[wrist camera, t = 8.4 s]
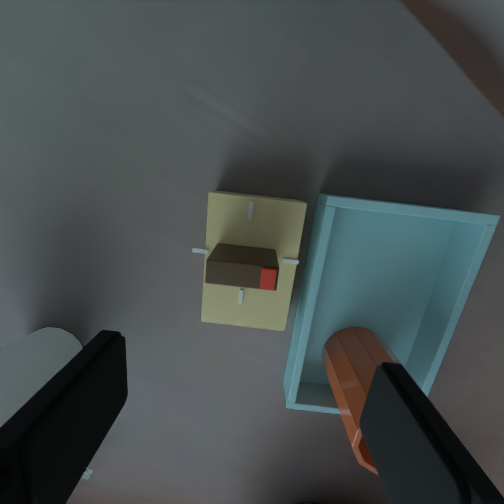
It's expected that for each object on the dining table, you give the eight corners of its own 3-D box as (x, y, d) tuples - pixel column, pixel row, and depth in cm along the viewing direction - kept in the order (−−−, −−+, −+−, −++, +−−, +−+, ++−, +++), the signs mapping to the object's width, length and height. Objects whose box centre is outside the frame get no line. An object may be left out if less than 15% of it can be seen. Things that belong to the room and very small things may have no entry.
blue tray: (318, 193, 22) (328, 195, 19) (466, 210, 22) (501, 215, 19) (283, 382, 28) (286, 408, 25) (399, 395, 28) (417, 423, 25)
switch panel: (203, 188, 22) (194, 190, 19) (302, 200, 22) (309, 203, 19) (197, 304, 26) (188, 321, 23) (283, 314, 26) (286, 332, 23)
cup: (328, 323, 26) (366, 402, 16) (391, 330, 26) (464, 413, 16) (316, 374, 27) (344, 471, 18) (375, 381, 27) (432, 481, 18)
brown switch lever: (215, 262, 21) (204, 285, 17) (217, 242, 21) (205, 260, 16) (273, 268, 21) (276, 292, 17) (275, 249, 21) (280, 268, 16)
